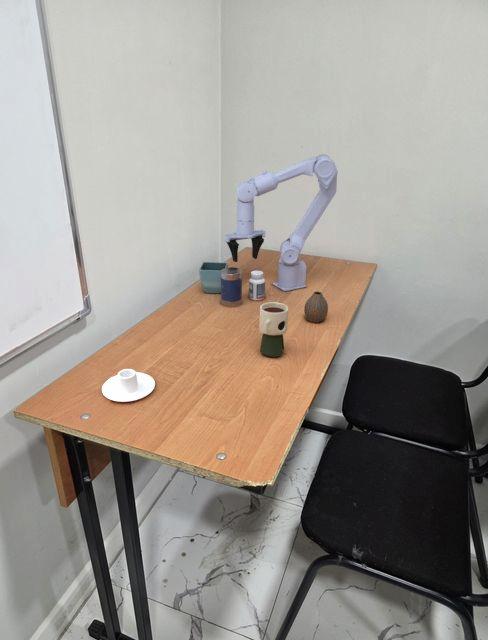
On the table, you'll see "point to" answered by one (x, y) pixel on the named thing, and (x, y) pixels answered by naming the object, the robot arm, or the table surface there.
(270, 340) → the character mug
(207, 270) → the flower pot
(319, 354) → the table surface
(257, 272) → the pill bottle
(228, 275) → the tin can
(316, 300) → the vase
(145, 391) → the candle holder
